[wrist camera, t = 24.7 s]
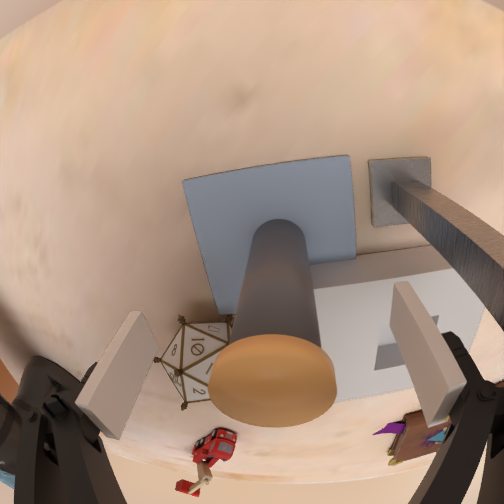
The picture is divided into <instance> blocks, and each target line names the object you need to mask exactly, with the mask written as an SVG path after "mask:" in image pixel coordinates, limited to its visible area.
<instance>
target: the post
mask: <svg viewBox="0 0 504 504" xmlns="http://www.w3.org/2000/svg"><path fill="white" fill-rule="evenodd" d="M368 165H369V177H370V192H371V213H372V225H373V227H381V226H389V225H398V224H406V223H410V224H411V225H412V226H413V227H414V228H415V229H416V230H417V231H418V232H419V233H420V234H421V235H422V236H423V237H424V238H425V239H426V240H427V241H428V242H429V243H430V244H431V245H432V246H433V247H434V248H435V249H436V250H437V251H438V252H439V253H440V254H441V255H442V256H443V258H444V259H445V260H446V261H447V262H448V263H449V264H450V265H451V266H452V267H453V269H454V270H455V271H456V272H457V273H458V274H459V275H460V276H461V278H462V279H463V280H464V281H465V282H466V283H467V285H468V286H469V287H470V288H471V289H472V291H473V292H474V293H475V294H476V296H477V297H478V298H479V299H480V300H481V302H482V303H483V304H484V306H485V307H486V308H487V309H488V311H489V312H490V313H491V315H492V316H493V317H494V319H495V320H496V321H497V323H498V324H499V325H500V327H501V328H502V330H503V331H504V236H503V235H502V234H501V233H499V232H498V231H496V230H495V229H494V228H492V227H491V226H490V225H488V224H487V223H485V222H484V221H482V220H481V219H480V218H478V217H477V216H475V215H474V214H472V213H471V212H469V211H468V210H466V209H465V208H463V207H462V206H460V205H458V204H457V203H455V202H454V201H452V200H451V199H449V198H447V197H446V196H444V195H442V194H441V193H439V192H437V191H436V190H434V189H432V188H431V158H429V157H410V158H391V159H376V160H368Z"/></svg>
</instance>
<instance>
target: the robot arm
mask: <svg viewBox="0 0 504 504" xmlns="http://www.w3.org/2000/svg"><path fill="white" fill-rule="evenodd" d="M389 326H390V328H391V331H392V333H393V335H394V338H395V340H396V342H397V345H398V347H399V350H400V352H401V355H402V357H403V360H404V362H405V365H406V367H407V370H408V372H409V375H410V377H411V380H412V383H413V386H414V388H415V391H416V394H417V397H418V399H419V402H420V405H421V408H422V411H423V414H424V417H425V420H426V423H427V426H428V428H429V427H432V426H435V425H438V424H441V423H444V422H445V420H446V419H447V417H448V415H449V417H450V420H451V424H450V425H449V427H448V428H447V430H446V431H445V433H444V434H445V437H444V439H443V441H442V443H441V445H440V447H439V450H438V452H437V454H436V456H435V458H434V460H433V462H432V464H431V465H430V468H429V469H428V471H427V473H426V475H425V476H424V479H423V480H422V482H421V483H420V485H419V487H418V489H417V490H416V492H415V493H414V495H413V497H412V498H411V500H410V502H409V503H408V504H461V502H462V500H463V498H464V496H465V494H466V492H467V490H468V488H469V486H470V483H471V481H472V479H473V476H474V474H475V472H476V469H477V467H478V464H479V462H480V459H481V457H482V454H483V451H484V448H485V445H486V442H487V449H486V458H485V465H484V471H483V477H482V483H481V488H480V492H479V497H478V501H477V504H504V387H496V386H495V384H494V383H492V382H490V381H486V380H484V379H483V377H482V376H481V374H480V372H479V370H478V368H477V367H476V365H475V363H474V361H473V360H472V358H471V356H470V354H468V351H467V349H466V348H465V347H464V344H463V343H462V341H461V339H460V338H459V337H458V336H457V335H456V334H454V333H453V332H452V331H449V332H445V333H440V331H439V329H438V328H437V326H436V324H435V323H434V321H433V319H432V318H431V316H430V315H429V313H428V311H427V310H426V308H425V307H424V305H423V303H422V302H421V300H420V299H419V297H418V296H417V294H416V293H415V291H414V289H413V288H412V286H411V285H410V283H409V282H408V281H402V282H396V283H394V286H393V297H392V307H391V316H390V324H389ZM158 349H159V346H158V344H157V342H156V340H155V338H154V336H153V334H152V332H151V330H150V328H149V326H148V324H147V321H146V319H145V317H144V315H143V313H142V311H130V313H129V314H128V316H127V317H126V319H125V320H124V322H123V323H122V325H121V326H120V328H119V330H118V331H117V333H116V334H115V336H114V337H113V339H112V341H111V342H110V344H109V345H108V347H107V349H106V350H105V352H104V353H103V355H102V357H101V358H100V360H99V362H95V363H94V364H93V365H92V366H91V367H90V368H89V369H88V370H87V372H86V374H85V375H84V377H83V379H82V380H81V383H80V382H79V381H77V380H76V379H75V378H74V377H73V376H72V375H70V374H69V373H68V372H66V371H65V370H64V369H62V368H61V367H59V366H58V365H56V364H55V363H53V362H51V361H49V360H47V359H45V358H42V357H37V356H35V357H32V358H31V359H30V360H29V362H28V363H27V364H26V366H25V368H24V372H23V375H22V378H21V382H20V386H19V389H18V393H17V396H16V398H15V399H14V401H13V402H12V404H9V402H8V401H7V400H6V399H5V398H4V397H3V396H2V395H1V394H0V481H1V482H3V483H4V484H6V485H8V486H9V487H11V488H13V489H14V504H127V503H126V501H125V498H124V496H123V494H122V492H121V489H120V487H119V485H118V482H117V480H116V477H115V475H114V472H113V470H112V467H111V465H110V463H109V460H108V457H107V454H106V451H105V448H104V445H103V442H102V439H101V438H100V436H99V433H100V431H101V432H102V433H103V434H104V435H105V436H106V437H109V438H113V439H117V440H120V437H121V435H122V432H123V430H124V427H125V425H126V422H127V420H128V418H129V415H130V413H131V410H132V408H133V406H134V403H135V401H136V399H137V396H138V394H139V392H140V389H141V387H142V385H143V382H144V380H145V378H146V375H147V373H148V371H149V369H150V366H151V364H152V362H153V360H154V358H155V355H156V353H157V351H158ZM487 439H488V440H487Z"/></svg>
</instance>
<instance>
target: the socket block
mask: <svg viewBox="0 0 504 504" xmlns="http://www.w3.org/2000/svg"><path fill="white" fill-rule="evenodd" d="M310 270H311V276H312V283H313V289H314V296H315V303H316V310H317V317H318V324H319V332H320V340H321V348H322V349H323V350H324V351H325V352H326V353H327V354H328V356H329V357H330V358H331V360H332V362H333V365H334V369H335V376H336V384H337V396H336V399H335V401H334V402H341V401H348V400H354V399H361V398H366V397H372V396H377V395H383V394H388V393H392V392H397V391H402V390H406V389H410V388H414V386H413V383H412V380H411V377H410V375H409V372H408V370H407V367H406V365H405V362H404V360H403V357H402V355H401V352H400V350H399V347H398V345H397V342H396V340H395V338H394V335H393V333H392V331H391V328H390V326H389V324H390V316H391V307H392V297H393V286H394V283H396V282H402V281H408V282H409V283H410V285H411V286H412V288H413V289H414V291H415V293H416V294H417V296H418V297H419V299H420V300H421V302H422V303H423V305H424V307H425V308H426V310H427V311H428V313H429V315H430V316H431V318H432V319H433V321H434V323H435V324H436V326H437V328H438V329H439V331H440V333H445V332H449V331H452V332H453V333H454V334H456V335H457V336H458V337H459V338H460V339H461V341H462V343H463V344H464V347H465V348H466V349H467V351H468V353H469V351H470V348H471V346H472V343H473V341H474V338H475V335H476V332H477V330H478V327H479V324H480V321H481V318H482V315H483V312H484V308H485V306H484V304H483V303H482V302H481V300H480V299H479V298H478V297H477V296H476V294H475V293H474V292H473V291H472V289H471V288H470V287H469V286H468V285H467V283H466V282H465V281H464V280H463V279H462V278H461V276H460V275H459V274H458V273H457V272H456V271H455V270H454V269H453V267H452V266H451V265H450V264H449V263H448V262H447V261H446V260H445V259H444V258H443V256H442V255H441V254H440V253H439V252H438V251H437V250H436V249H435V248H434V247H433V246H432V245H429V246H422V247H415V248H408V249H401V250H393V251H386V252H378V253H371V254H363V255H356V259H353V260H346V261H338V262H330V263H322V264H314V265H310Z"/></svg>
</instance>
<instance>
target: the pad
mask: <svg viewBox="0 0 504 504" xmlns="http://www.w3.org/2000/svg"><path fill="white" fill-rule="evenodd" d="M182 183H183V187H184V191H185V195H186V199H187V203H188V207H189V211H190V215H191V219H192V222H193V226H194V230H195V233H196V237H197V241H198V244H199V248H200V252H201V255H202V259H203V262H204V266H205V269H206V273H207V276H208V279H209V283H210V286H211V290H212V293H213V296H214V300H215V303H216V306H217V309H218V313H219V315H224V314H236V310H237V305H238V301H239V297H240V292H241V288H242V284H243V279H244V275H245V271H246V266H247V262H248V258H249V253H250V249H251V245H252V240H253V236H254V234H255V232H256V230H257V229H258V228H259V227H260V226H261V225H262V224H263V223H265V222H267V221H270V220H273V219H284V220H288V221H291V222H293V223H294V224H296V225H297V226H298V227H299V228H300V229H301V230H302V232H303V234H304V236H305V240H306V246H307V252H308V258H309V264H310V265H314V264H322V263H330V262H338V261H346V260H353V259H356V234H355V214H354V199H353V186H352V175H351V165H350V156H349V155H342V156H332V157H322V158H313V159H305V160H297V161H290V162H282V163H275V164H269V165H262V166H256V167H250V168H244V169H238V170H232V171H227V172H221V173H216V174H211V175H206V176H201V177H196V178H191V179H186V180H184V181H182Z"/></svg>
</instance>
